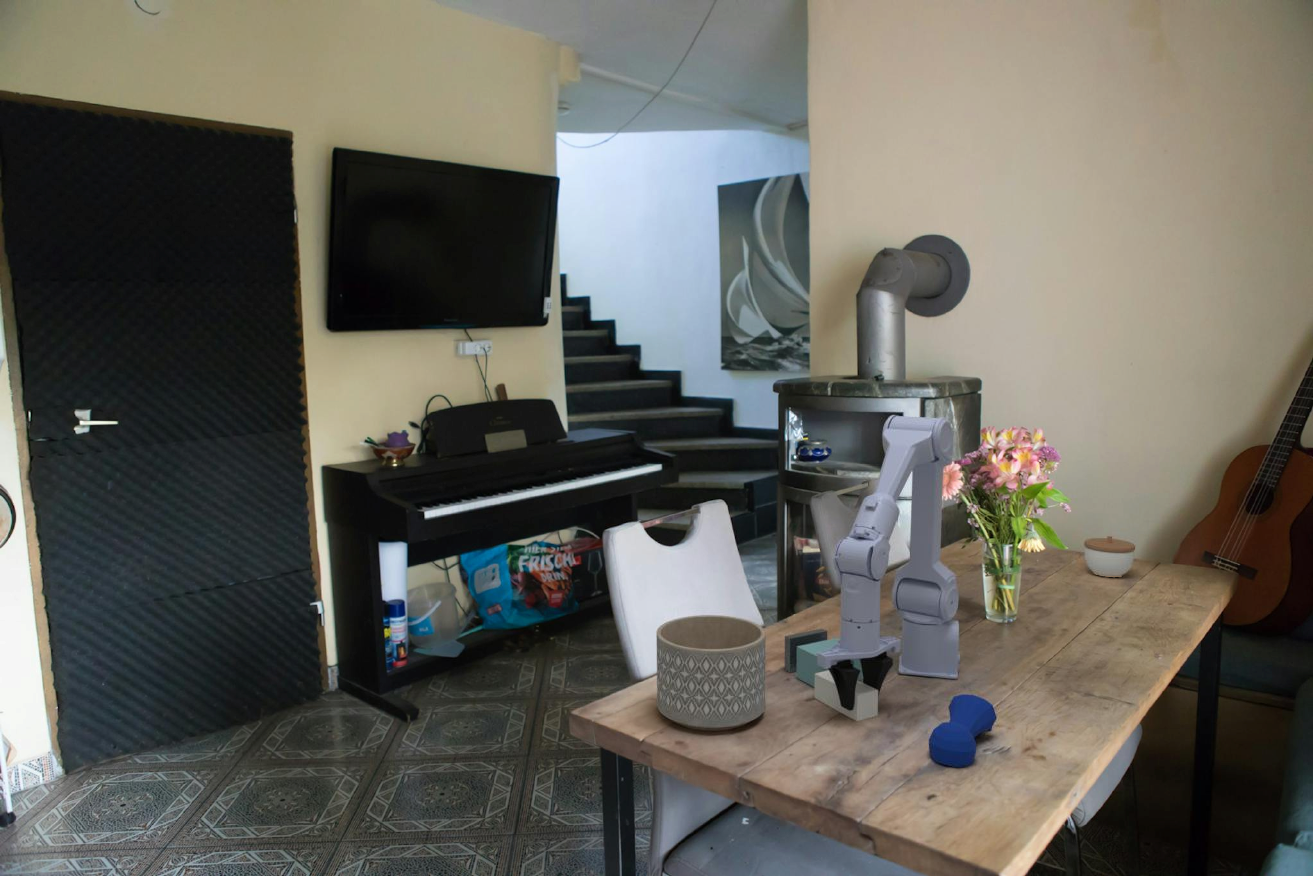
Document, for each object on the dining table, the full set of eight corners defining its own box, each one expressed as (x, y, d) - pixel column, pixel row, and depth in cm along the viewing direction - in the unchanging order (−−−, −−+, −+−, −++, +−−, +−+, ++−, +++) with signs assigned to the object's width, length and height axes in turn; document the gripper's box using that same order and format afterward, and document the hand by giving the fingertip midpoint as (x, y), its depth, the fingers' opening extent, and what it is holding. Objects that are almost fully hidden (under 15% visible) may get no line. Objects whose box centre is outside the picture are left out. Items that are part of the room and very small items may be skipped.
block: (862, 679, 147) (862, 647, 147) (819, 690, 143) (819, 657, 142) (838, 667, 153) (839, 637, 152) (796, 677, 148) (796, 646, 148)
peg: (877, 715, 133) (878, 690, 133) (857, 721, 131) (857, 695, 131) (834, 693, 142) (834, 668, 142) (814, 698, 140) (814, 673, 140)
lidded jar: (1091, 580, 206) (1092, 540, 205) (1077, 568, 217) (1078, 530, 216) (1140, 581, 204) (1142, 541, 203) (1124, 569, 215) (1126, 531, 214)
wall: (827, 664, 155) (827, 631, 154) (789, 672, 151) (790, 638, 150) (821, 661, 156) (821, 628, 155) (784, 670, 152) (784, 636, 151)
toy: (952, 725, 132) (919, 761, 119) (954, 684, 131) (920, 716, 119) (1000, 737, 128) (971, 775, 115) (1002, 694, 127) (972, 728, 115)
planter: (734, 746, 124) (734, 658, 123) (636, 720, 133) (635, 638, 131) (782, 704, 138) (783, 625, 136) (691, 684, 147) (690, 609, 145)
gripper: (878, 603, 139) (877, 686, 141) (804, 617, 133) (803, 705, 134) (911, 615, 133) (909, 702, 135) (835, 631, 126) (834, 722, 128)
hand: (858, 704), depth 134 cm, fingers closed on peg, 4 cm apart
